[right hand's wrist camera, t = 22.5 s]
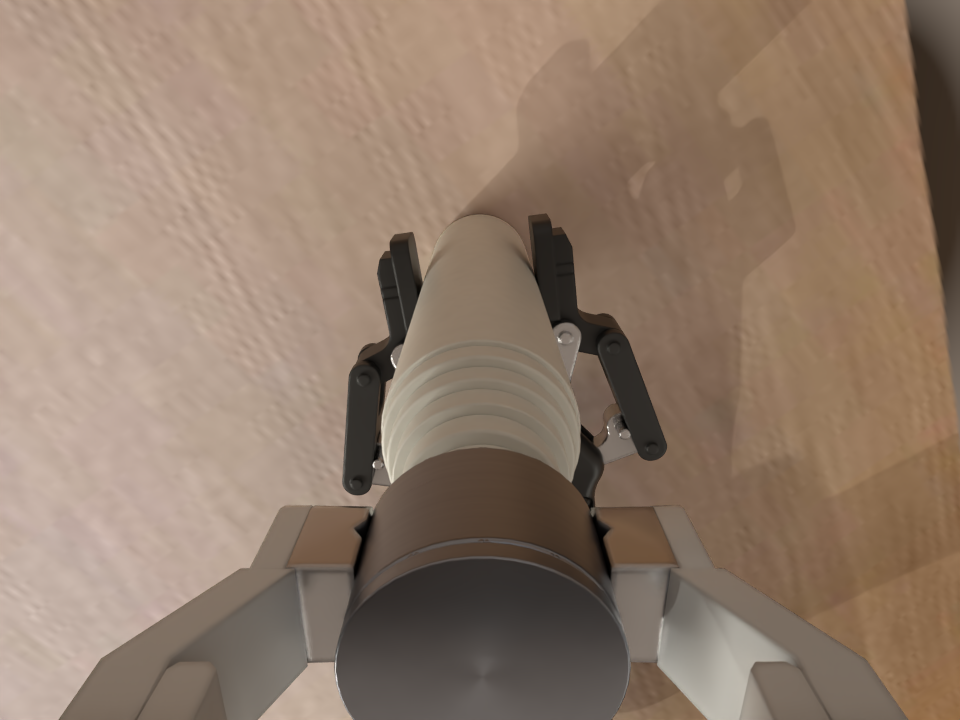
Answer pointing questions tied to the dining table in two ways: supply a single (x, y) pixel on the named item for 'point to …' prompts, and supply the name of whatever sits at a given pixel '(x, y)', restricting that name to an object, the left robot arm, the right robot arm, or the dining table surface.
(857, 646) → the dining table surface
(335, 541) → the right robot arm
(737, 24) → the dining table surface
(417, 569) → the cap
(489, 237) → the bottle
